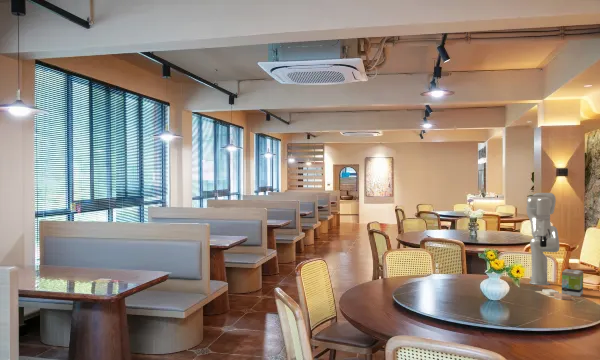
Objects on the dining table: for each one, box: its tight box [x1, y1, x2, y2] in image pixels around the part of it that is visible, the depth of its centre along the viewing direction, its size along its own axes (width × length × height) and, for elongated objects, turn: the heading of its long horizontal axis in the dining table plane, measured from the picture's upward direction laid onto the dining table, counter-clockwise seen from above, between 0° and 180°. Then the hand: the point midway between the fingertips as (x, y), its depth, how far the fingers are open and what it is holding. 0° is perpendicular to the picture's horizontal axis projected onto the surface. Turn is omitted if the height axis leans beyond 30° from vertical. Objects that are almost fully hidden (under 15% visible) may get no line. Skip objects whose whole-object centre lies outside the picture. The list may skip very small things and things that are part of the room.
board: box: [534, 290, 576, 301], centre depth 271 cm, size 22×11×1 cm, turn 5°
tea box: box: [561, 268, 584, 297], centre depth 278 cm, size 15×10×15 cm, turn 143°
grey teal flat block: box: [542, 288, 560, 295], centre depth 275 cm, size 2×6×7 cm
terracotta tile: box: [554, 292, 573, 299], centre depth 264 cm, size 2×6×7 cm
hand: (543, 246), depth 287 cm, fingers closed
